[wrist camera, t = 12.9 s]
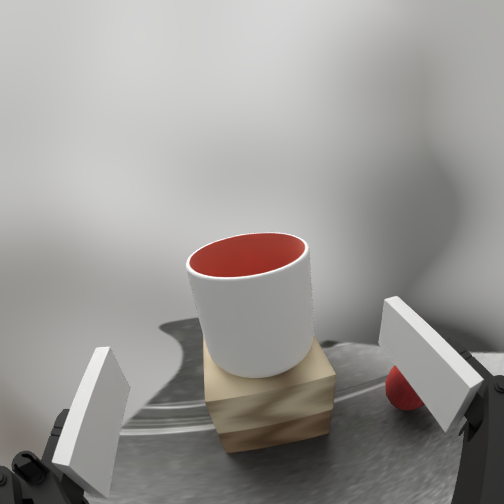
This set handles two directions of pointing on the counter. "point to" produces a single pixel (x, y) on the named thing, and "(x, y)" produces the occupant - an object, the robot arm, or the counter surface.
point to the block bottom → (277, 433)
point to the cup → (254, 302)
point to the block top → (268, 393)
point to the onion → (401, 391)
